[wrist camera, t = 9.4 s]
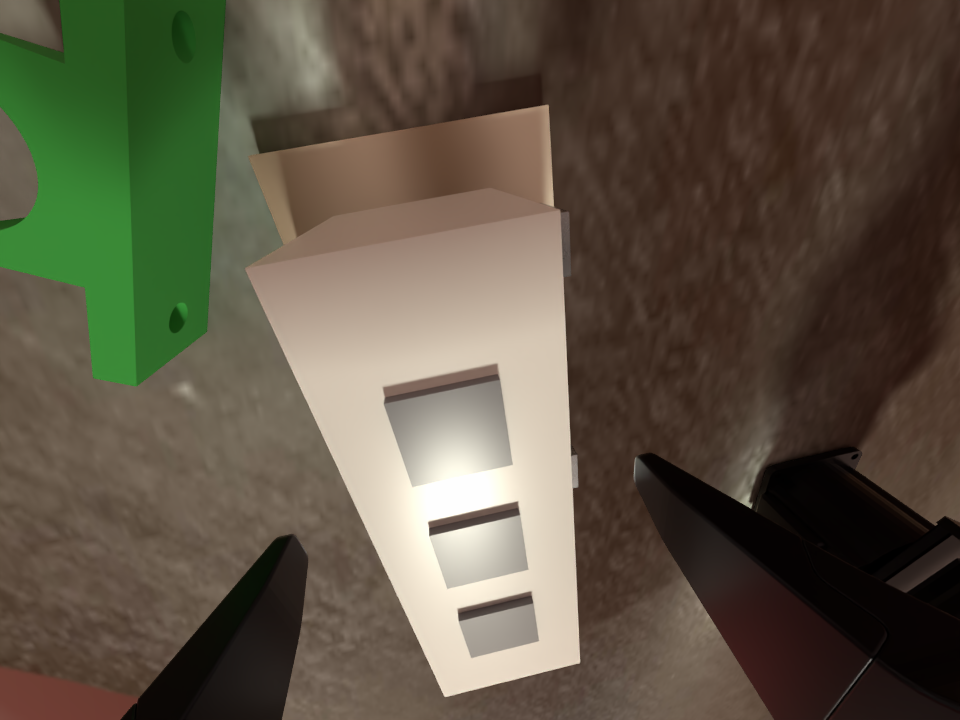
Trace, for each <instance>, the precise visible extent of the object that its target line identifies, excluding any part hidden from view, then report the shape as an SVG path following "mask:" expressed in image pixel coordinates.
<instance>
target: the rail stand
mask: <svg viewBox="0 0 960 720" xmlns="http://www.w3.org/2000/svg"><path fill="white" fill-rule="evenodd" d="M248 157H249V160H250V162H251V165H252V167H253V170H254V172H255V175H256V177H257V180H258V182H259V185H260V187H261V190H262V192H263V195H264V197H265V200H266V202H267V204H268V207H269V209H270V212H271V214H272V217H273V219H274V222H275V224H276V227H277V229H278V232H279V234H280V237H281V239H282V242H283V244H284V245H285V244H287V243H289V242H290V241H292V240H294V239H295V238H297V237H299V236H300V235H302V234H304V233H306V232H307V231H309V230H311V229H312V228H314V227H316V226H317V225H319V224H321V223H323V222H324V221H326V220H328V219H329V218H331V217H333V216H336V215H341V214H347V213H353V212H358V211H364V210H369V209H375V208H380V207H386V206H391V205H397V204H402V203H408V202H414V201H419V200H425V199H430V198H436V197H441V196H447V195H452V194H458V193H463V192H469V191H474V190H480V189H486V188H493V189H496V190H500V191H503V192H506V193H509V194H512V195H515V196H518V197H522V198H525V199H528V200H531V201H534V202H537V203H540V204H544V205H547V206H550V207H553V208H556V207H554V201H553V182H552V162H551V143H550V124H549V105H544V106H538V107H532V108H526V109H520V110H514V111H508V112H503V113H497V114H491V115H485V116H479V117H473V118H467V119H462V120H456V121H450V122H444V123H438V124H432V125H426V126H420V127H415V128H409V129H403V130H397V131H391V132H385V133H379V134H374V135H368V136H362V137H356V138H350V139H344V140H338V141H333V142H327V143H321V144H315V145H309V146H303V147H297V148H291V149H286V150H280V151H274V152H268V153H262V154H256V155H250V156H248ZM556 209H559V208H556ZM559 210H560V214H561V237H562V260H563V277H566V276H571V259H570V230H569V211H566V210H563V209H559ZM570 444H571V443H570ZM571 467H572V488H575V487H578V467H577V454H576V452H575V450H574V448H573V446H572V444H571Z"/></svg>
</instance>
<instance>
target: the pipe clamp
mask: <svg viewBox="0 0 960 720" xmlns="http://www.w3.org/2000/svg"><path fill="white" fill-rule="evenodd" d="M59 2H60V13H61V24H62V35H63V47H64V53H63V52H59V51H56V50H53V49H50V48H47V47H43V46H40V45H37V44H34V43H31V42H27V41H24V40H21V39H18V38H15V37H11V36H8V35H5V34H2V33H0V107H1V108H2V109H3V110H4V112H5V113H6V114H7V115H8V116H9V118H10V119H11V120H12V121H13V123H14V124H15V126H16V127H17V129H18V130H19V131H20V133H21V135H22V136H23V138H24V140H25V142H26V143H27V145H28V148H29V150H30V152H31V154H32V157H33V160H34V162H35V166H36V170H37V176H38V194H37V199H36V202H35V205H34V207H33V209H32V211H31V212H30V213H29V214H28V216H27V217H26V218H19V219H11V220H4V221H0V267H3V268H7V269H11V270H16V271H20V272H24V273H28V274H32V275H36V276H40V277H44V278H48V279H52V280H56V281H60V282H65V283H69V284H73V285H77V286H81V287H85V293H86V304H87V315H88V326H89V338H90V349H91V360H92V371H93V378H95V379H100V380H105V381H111V382H116V383H121V384H126V385H132V386H138V385H139V384H140V383H142V382H143V381H144V380H146V379H147V378H148V377H149V376H151V375H152V374H153V373H155V372H156V371H157V370H158V369H160V368H161V367H162V366H164V365H165V364H166V363H167V362H169V361H170V360H171V359H173V358H174V357H175V356H176V355H178V354H179V353H180V352H182V351H183V350H184V349H185V348H187V347H188V346H189V345H191V344H192V343H193V342H194V341H196V340H197V339H198V338H200V337H201V336H202V335H203V334H205V333H206V332H207V323H208V305H209V287H210V270H211V252H212V235H213V217H214V200H215V182H216V164H217V147H218V129H219V112H220V94H221V76H222V59H223V41H224V24H225V6H226V0H59Z"/></svg>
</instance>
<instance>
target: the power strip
mask: <svg viewBox="0 0 960 720" xmlns="http://www.w3.org/2000/svg"><path fill="white" fill-rule="evenodd" d="M245 270H246V273H247V275H248V277H249V279H250V281H251V283H252V285H253V288H254V290H255V292H256V294H257V296H258V298H259V300H260V303H261V305H262V307H263V309H264V311H265V313H266V315H267V317H268V320H269V322H270V324H271V326H272V328H273V330H274V332H275V335H276V337H277V339H278V341H279V343H280V345H281V347H282V350H283V352H284V354H285V356H286V358H287V360H288V362H289V365H290V367H291V369H292V371H293V373H294V375H295V377H296V380H297V382H298V384H299V386H300V388H301V390H302V392H303V395H304V397H305V399H306V401H307V403H308V405H309V407H310V409H311V412H312V414H313V416H314V418H315V420H316V422H317V424H318V427H319V429H320V431H321V433H322V435H323V437H324V439H325V442H326V444H327V446H328V448H329V450H330V452H331V454H332V457H333V459H334V461H335V463H336V465H337V467H338V469H339V472H340V474H341V476H342V478H343V480H344V482H345V484H346V487H347V489H348V491H349V493H350V495H351V497H352V499H353V501H354V504H355V506H356V508H357V510H358V512H359V514H360V516H361V519H362V521H363V523H364V525H365V527H366V529H367V531H368V534H369V536H370V538H371V540H372V542H373V544H374V546H375V549H376V551H377V553H378V555H379V557H380V559H381V561H382V564H383V566H384V568H385V570H386V572H387V574H388V576H389V579H390V581H391V583H392V585H393V587H394V589H395V591H396V594H397V596H398V598H399V600H400V602H401V604H402V606H403V608H404V611H405V613H406V615H407V617H408V619H409V621H410V623H411V626H412V628H413V630H414V632H415V634H416V636H417V638H418V641H419V643H420V645H421V647H422V649H423V651H424V653H425V656H426V658H427V660H428V662H429V664H430V666H431V668H432V671H433V673H434V675H435V677H436V679H437V681H438V683H439V686H440V688H441V690H442V692H443V694H444V696H445V697H447V696H451V695H455V694H459V693H463V692H467V691H471V690H475V689H479V688H483V687H487V686H491V685H495V684H499V683H503V682H507V681H510V680H514V679H518V678H522V677H526V676H530V675H534V674H538V673H542V672H546V671H550V670H554V669H558V668H562V667H566V666H570V665H573V664H577V663H580V651H579V628H578V605H577V582H576V559H575V536H574V513H573V490H572V467H571V444H570V421H569V398H568V375H567V352H566V329H565V306H564V283H563V260H562V237H561V214H560V210H559V209H556V208H553V207H550V206H547V205H544V204H540V203H537V202H534V201H531V200H528V199H525V198H522V197H518V196H515V195H512V194H509V193H506V192H503V191H500V190H496V189H493V188H486V189H480V190H474V191H469V192H463V193H458V194H452V195H447V196H441V197H436V198H430V199H425V200H419V201H414V202H408V203H402V204H397V205H391V206H386V207H380V208H375V209H369V210H364V211H358V212H353V213H347V214H341V215H336V216H333V217H331V218H329V219H328V220H326V221H324V222H323V223H321V224H319V225H317V226H316V227H314V228H312V229H311V230H309V231H307V232H306V233H304V234H302V235H300V236H299V237H297V238H295V239H294V240H292V241H290V242H289V243H287V244H285V245H284V246H282V247H280V248H278V249H277V250H275V251H273V252H272V253H270V254H268V255H267V256H265V257H263V258H261V259H260V260H258V261H256V262H255V263H253V264H251V265H250V266H248V267H246V268H245Z"/></svg>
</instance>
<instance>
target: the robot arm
mask: <svg viewBox="0 0 960 720" xmlns="http://www.w3.org/2000/svg"><path fill="white" fill-rule="evenodd" d="M861 456H862V452H861V451H860V450H858V449H857V448H855V447H850V448H845V449H841V450H837V451H832V452H828V453H824V454H819V455H815V456H811V457H807V458H802V459H798V460H794V461H789V462H785V463H781V464H776V465H773V466H771V467H769V468H768V469H767V470H766V472H765V475H764V478H763V481H762V485H761V488H760V491H759V494H758V498H757V501H756V504H755V507H754V510H752V509H750V508H749V507H747V506H745V505H743V504H742V503H740V502H738V501H736V500H735V499H733V498H731V497H729V496H728V495H726V494H724V493H722V492H721V491H719V490H717V489H715V488H714V487H712V486H710V485H708V484H706V483H705V482H703V481H701V480H699V479H698V478H696V477H694V476H692V475H691V474H689V473H687V472H685V471H684V470H682V469H680V468H678V467H677V466H675V465H673V464H671V463H670V462H668V461H666V460H664V459H663V458H661V457H659V456H657V455H655V454H653V453H646V454H641V455H638V456H636V458H635V469H634V481H635V484H636V487H637V489H638V491H639V493H640V495H641V497H642V499H643V501H644V503H645V505H646V507H647V509H648V511H649V513H650V515H651V518H652V520H653V522H654V524H655V526H656V528H657V530H658V532H659V534H660V536H661V538H662V540H663V541H664V543H665V545H666V546H667V548H668V550H669V551H670V553H671V555H672V556H673V558H674V559H675V561H676V563H677V564H678V566H679V567H680V569H681V571H682V572H683V574H684V576H685V577H686V579H687V580H688V582H689V584H690V585H691V587H692V588H693V590H694V592H695V593H696V595H697V596H698V598H699V600H700V601H701V603H702V604H703V606H704V608H705V609H706V611H707V613H708V614H709V616H710V617H711V619H712V621H713V622H714V624H715V625H716V627H717V629H718V630H719V632H720V633H721V635H722V637H723V638H724V640H725V641H726V643H727V645H728V646H729V648H730V650H731V651H732V653H733V654H734V656H735V658H736V659H737V661H738V662H739V664H740V666H741V667H742V669H743V670H744V672H745V674H746V675H747V677H748V678H749V680H750V682H751V683H752V685H753V686H754V688H755V690H756V691H757V693H758V695H759V696H760V698H761V699H762V701H763V703H764V704H765V706H766V707H767V709H768V711H769V712H770V714H771V715H772V717H773V719H774V720H960V522H958V521H955V520H953V519H951V518H949V517H946V516H944V517H943V518H942V519H940V520H939V521H938V522H936V523H937V524H938V525H936V526H935V525H933V524H932V523H930V522H929V521H928V520H926V519H925V518H923V517H922V516H920V515H919V514H918V513H916V512H915V511H913V510H912V509H910V508H909V507H908V506H906V505H905V504H903V503H902V502H900V501H899V500H898V499H896V498H895V497H893V496H892V495H890V494H889V493H888V492H886V491H885V490H883V489H882V488H880V487H879V486H878V485H876V484H875V483H873V482H872V481H870V480H869V479H868V478H866V477H865V476H863V475H862V474H860V473H859V472H858V471H856V470H855V468H856V466H857V464H858V462H859V460H860V458H861ZM307 569H308V555H307V552H306V551H305V549H304V547H303V546H302V544H301V543H300V541H299V539H298V538H297V536H296V535H294V534H289V535H285V536H280V537H278V538H276V539H275V540H274V541H273V542H272V543H271V544H270V546H269V547H268V548H267V549H266V550H265V551H264V553H263V554H262V555H261V556H260V557H259V558H258V560H257V561H256V562H255V563H254V564H253V565H252V567H251V568H250V569H249V570H248V571H247V572H246V574H245V575H244V576H243V577H242V578H241V579H240V581H239V582H238V583H237V584H236V585H235V586H234V588H233V589H232V590H231V591H230V592H229V593H228V595H227V596H226V597H225V598H224V599H223V600H222V602H221V603H220V604H219V605H218V606H217V608H216V609H215V610H214V611H213V612H212V613H211V615H210V616H209V617H208V618H207V619H206V620H205V622H204V623H203V624H202V625H201V626H200V627H199V629H198V630H197V631H196V632H195V633H194V634H193V636H192V637H191V638H190V639H189V640H188V641H187V643H186V644H185V645H184V646H183V647H182V648H181V650H180V651H179V652H178V653H177V654H176V655H175V657H174V658H173V659H172V660H171V661H170V662H169V664H168V665H167V666H166V667H165V668H164V670H163V671H162V672H161V673H160V674H159V675H158V677H157V678H156V679H155V680H154V681H153V682H152V684H151V685H150V686H149V687H148V688H147V689H146V691H145V692H144V693H143V694H142V695H141V696H140V698H139V699H138V701H137V703H136V704H134V705H133V706H132V707H131V708H130V709H129V710H128V711H127V713H126V714H125V715H124V716H123V717H122V719H121V720H282V716H283V711H284V706H285V702H286V697H287V692H288V687H289V683H290V678H291V673H292V668H293V664H294V659H295V654H296V649H297V645H298V640H299V634H300V629H301V622H302V615H303V605H304V596H305V587H306V578H307Z"/></svg>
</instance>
